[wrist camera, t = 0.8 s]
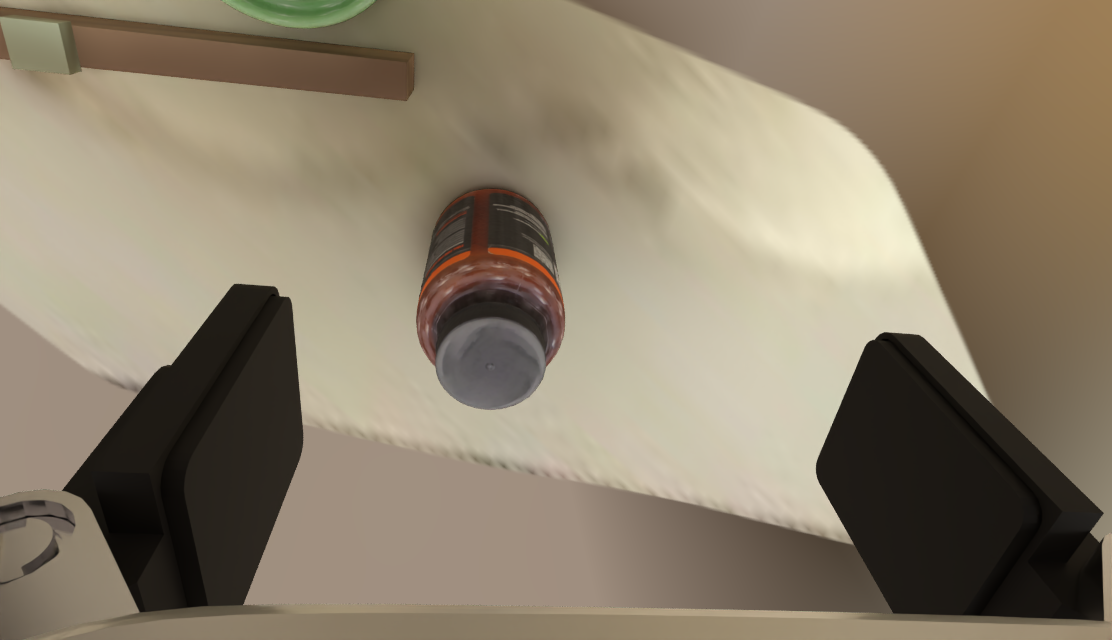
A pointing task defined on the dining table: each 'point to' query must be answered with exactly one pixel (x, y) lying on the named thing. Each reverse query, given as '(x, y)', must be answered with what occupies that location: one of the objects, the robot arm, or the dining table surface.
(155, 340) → the dining table surface
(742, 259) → the dining table surface
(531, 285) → the supplement bottle
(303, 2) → the ramekin
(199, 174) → the dining table surface
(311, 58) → the walnut track
